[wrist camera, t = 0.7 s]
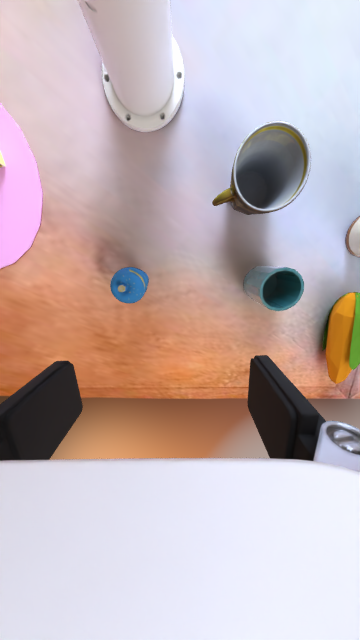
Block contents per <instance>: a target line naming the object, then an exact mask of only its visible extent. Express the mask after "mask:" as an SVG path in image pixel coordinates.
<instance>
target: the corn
mask: <svg viewBox="0 0 360 640" xmlns="http://www.w3.org/2000/svg"><path fill="white" fill-rule="evenodd" d="M325 348H326V360H327V367H328V374H329V377H330V379H331V380H332V381H333V382H334V383H335V384H337V383H340V382H342V381H344V380H345V379H346V378H347V376H348V375H349V373H350V372H351V370H352V369H355V368H356V367H357V366H358V365H359V364H360V293H357V292H353V293H352V292H351V293H347V294H345V295H343V296H342V297H340V298H339V299H338V300H337V301H336V302H335V304H334V305H333V307H332V308H331V310H330V312H329V315H328V319H327V323H326V327H325V331H324V339H323V350H324V349H325Z"/></svg>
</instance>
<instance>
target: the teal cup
mask: <svg viewBox="0 0 360 640" xmlns="http://www.w3.org/2000/svg"><path fill="white" fill-rule="evenodd" d="M243 286H244V290H245V293H246V294H247V295H248V296H249V297H250V298H251V299H253V300H255V301H256V302H258V303H260V304H261V305H263V306H265V307H267V308H268V309H271V310H275V311H282V310H287V309H289V308H291V307H292V306H294V305H295V304H296V303H297V302H298V301H299V300H300V298H301V296H302V294H303V291H304V281H303V279H302V276H301V275H300V274H299V273H298V272H297V271H296V270H294V269H291V268H287V267H277V266H258V267H255V268H253V269H252V270H250V271H249V272H248V274H247V275H246V277H245V279H244V285H243Z"/></svg>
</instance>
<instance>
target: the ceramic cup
mask: <svg viewBox="0 0 360 640" xmlns="http://www.w3.org/2000/svg"><path fill="white" fill-rule="evenodd" d="M310 166H311V153H310V148H309V144H308V142H307V139H306V138H305V136H304V134H303V133H302V132H301V131H300V130H299V129H298V128H297V127H295V126H294V125H292V124H290V123H288V122H283V121H272V122H268V123H265V124H263V125H261V126H259V127H257V128H256V129H254V130H253V131H252V132H251V133H250V134H249V135H248V136H247V137H246V138H245V139H244V141H243V142H242V144H241V146H240V147H239V149H238V152H237V154H236V157H235V160H234V164H233V169H232V176H231V186H230V188H229V189H226V190H225V191H223V192H222V193H220V194H219V195H218V196H217V197H216V198H215V199H214V200H213V202H212V203H213V205H214V206H217V205H220V204H223V203H226V202H229V201H231V203H232V206H233V209H234V210H236V211H239V212H241V213H244V214H247V215H250V214H263V213H269V212H273V211H277V210H279V209H282V208H284V207H285V206H287V205H288V204H290V203H291V202H292V201H293V200H294V199H295V198H296V197H297V196H298V195H299V194H300V192H301V191H302V189H303V188H304V186H305V184H306V181H307V179H308V176H309V172H310Z"/></svg>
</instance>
